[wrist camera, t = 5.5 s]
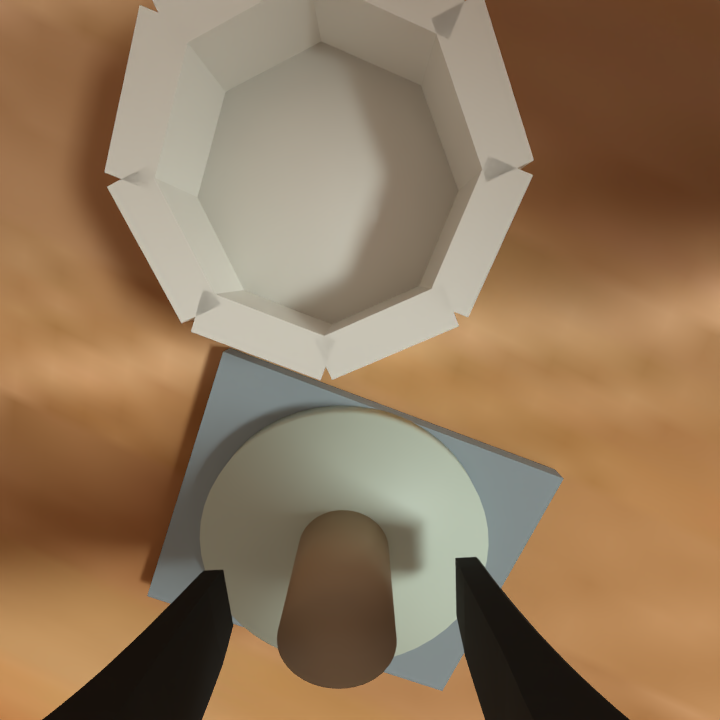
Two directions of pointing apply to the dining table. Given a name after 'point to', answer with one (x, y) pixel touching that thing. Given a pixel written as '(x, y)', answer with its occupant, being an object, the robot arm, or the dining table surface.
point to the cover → (342, 539)
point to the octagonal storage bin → (318, 170)
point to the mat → (298, 393)
